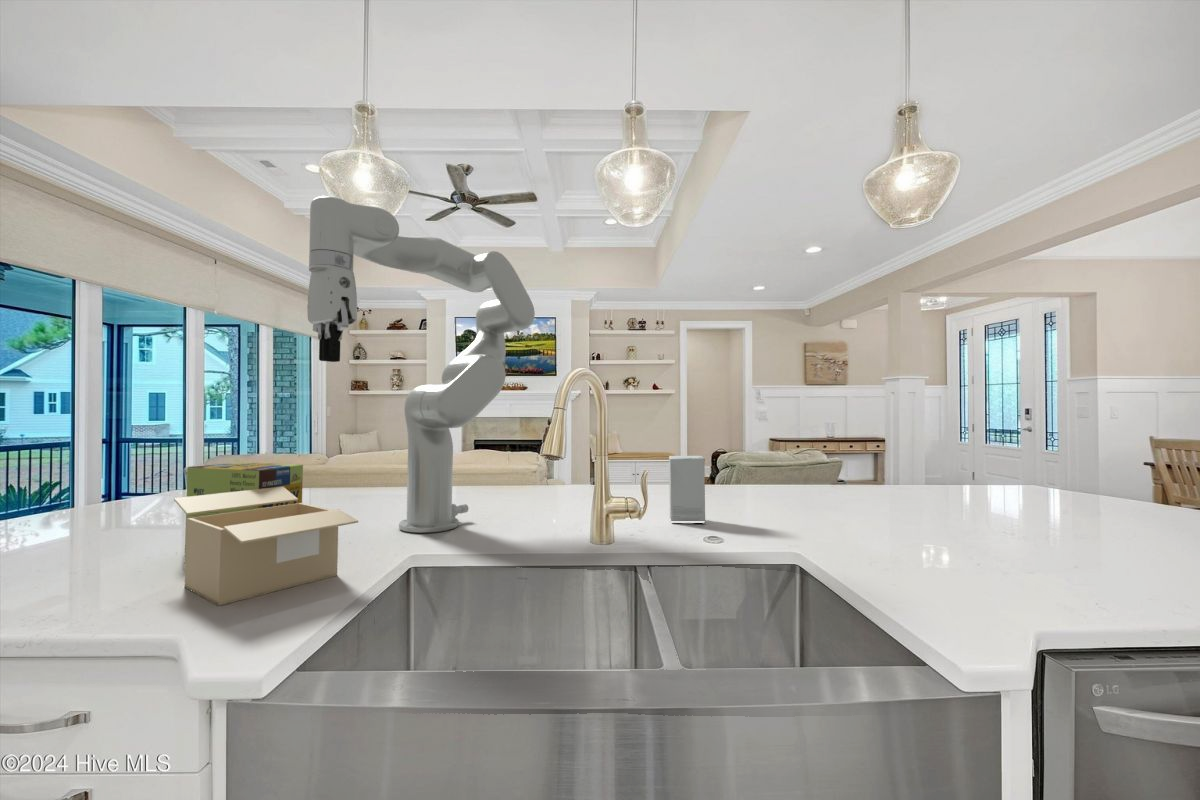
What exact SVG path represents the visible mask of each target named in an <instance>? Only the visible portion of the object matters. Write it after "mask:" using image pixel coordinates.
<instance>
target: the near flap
mask: <svg viewBox="0 0 1200 800" xmlns="http://www.w3.org/2000/svg"><path fill="white" fill-rule="evenodd" d="M358 523H359V520H358V519H356V518H355V517H353V516H351V515H350V514H348V513H347V512H345V511H343V510H341V509H340V508H335V509H330V510H328V511H322V512H315V513H309V514H302V515H296V516H289V517H282V518H276V519H269V520H263V521H256V522H250V523H243V524H237V525H230V526H224V529H225V530H226V531H227V532H228V533H229V534H231V535H232V536H233V537H234V538H235V539H237V540H238V541H239V542H240V543H241V544H242V543H248V542H253V541H259V540H264V539H270V538H275V537H281V536H287V535H292V534H298V533H303V532H309V531H314V530H320V529H325V528H331V527H337V526H338V527H342V526H347V525H353V524H358Z"/></svg>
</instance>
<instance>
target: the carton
mask: <svg viewBox="0 0 1200 800" xmlns="http://www.w3.org/2000/svg"><path fill="white" fill-rule="evenodd" d="M328 510H331V509H329V508H326V507H325V508H324V507H320V506H316V505H311V504H307V503H303V502H302V503H296V504H288V505H281V506H273V507H266V508H258V509H251V510H244V511H236V512H229V513H221V514H214V515H206V516H199V517H192V518H186V517H185V531H186V552H185V551H184V554H185V555H184V557H185V559H184V560H185V561H184V562H185V563H184V588H185V587H186V588H185V589H187V588H188V589H190V590H192V591H194V592H195V593H194V592H193V593H194V594H196V593H197V594H196V595H198V594H199V595H198V596H200V597H201V596H202V597H201V598H203V597H204V599H205V598H206V599H205V600H207V601H209V602H210V603H213V604H215V605H217V606H219V607H220V606H223V605H228V604H231V603H236V602H239V601H242V600H243V601H244V600H246V599H251V598H255V597H259V596H262V595H265V594H270V593H275V592H278V591H281V590H286V589H290V588H294V587H297V586H301V585H306V584H309V583H313V582H317V581H320V580H325V579H328V578H332V577H336V576H338V563H339V562H338V556H339V553H338V551H339V550H338V549H339V526H337V527H331V528H325V529H320V530H314V531H309V532H303V533H298V534H292V535H287V536H281V537H275V538H270V539H264V540H259V541H253V542H248V543H242V544H241V543H240V542H239V541H238V540H237V539H235V538H234V537H233V536H232V535H231V534H229V533H228V532H227V531H226V530H225V529H224V526H230V525H237V524H243V523H250V522H256V521H263V520H269V519H276V518H282V517H289V516H296V515H302V514H309V513H315V512H322V511H328ZM188 589H187V590H188ZM190 590H189V591H190ZM192 591H191V592H192Z"/></svg>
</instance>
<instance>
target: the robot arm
mask: <svg viewBox="0 0 1200 800" xmlns="http://www.w3.org/2000/svg"><path fill="white" fill-rule="evenodd" d="M309 212H310V213H309V251H308V252H309V253H308V254H309V255H308V259H309V260H308V271H309V272H310V278H309V285H308V293H307V294H308V295H307V310H306V311H307V320H308V322H309V323H310V324H311V325H312V331H313V332H315V333H317V339H318V342H319V344H318V345H319V346H318V347H319V349H318V360H319V361H321V362H327V363H328V362H329V363H337V362H340V360H341V341H342V340H343V332H344V331H345V330H347V329H348V328H349V326H350V325H353V324H354V323H356V322H357V320H358V296H357V286H356V285H357V283H356V279H355V277H356V276H355V273H354V255H355V256H357V257H359V258H360V259H364V260H366V261H368V262H371V263H375V264H378V265H380V266H383V267H387V268H391V269H396V270H400V271H401V270H402V271H406V272H409V273H415V274H419V275H426V276H428V277H431V278H434V279H436V280H439V281H442V282H443V283H447V284H450V285H453V286H454V287H457V288H459V289H461V290H464V291H467V292H470V293H483V292H488V291H493V293H494V295H495V296H496V298H494V299H489V300H487V301H485V302H483V303H482V304H481V305H479V307H478V308H477V312H476V314H475V327H476V336H475V339H474V340H473V341H472V342H471V343H470V344H469V345H468V346H467V347H466V348H465V349H464V350H463V351H461V353H459V354H458V355H457V356H455V358H453V359H452V360H451V361H450V362H449V363H448V364H446V366H445V368H444V369H443V371H442V375H441V383H427V384H421V385H418V386H416V387H414V388H413V389H412V390H411V391H410V392H409V393H408V395H407V397H406V398H405V401H404V408H403V409H404V417H405V422H406V431H407V478H406V480H407V481H406V483H407V485H406V486H407V487H406V519H403V520H402V521H400V522H399V523H398V528H399V530H400V531H402V532H405V533H416V534H417V533H421V534H422V533H426V534H428V533H439V532H445V531H449V530H452V529H456V528H457V527H458V526H459V525H460V524H459V522H460V520H459V518H457V517H456V516H458V514H464V513H466V514H467V513H468V512H469V506H468V504H465V503H464V504H460V505H456V504H455V503H453V459H454V458H453V457H454V443H453V438H452V434H451V431H450V429H458V428H462V427H464V426H466V425H468V424H469V423H470V422H471V421H474V419H475V418H477V416H478V415H480V413H481V412H483V410H484V409H485V408H486V407H488V405H489V404H490V403H491V402H492V401H493V400H494V399H495V398H496V397H497V396H498V395H499V393H501V390H502V389H503V387H504V385H505V382H506V369H505V366H504V364H503V362H504V361H505V358H506V354H507V347H506V337H505V333H511V332H520V331H524V330H527V329H528V328H530V326H532V324H533V323H534V321H535V312H536V311H535V307H534V304H533V302H532V299H531V297H530V296H529V294H528V292H527V289H526V288H525V286H524V284H523V282H522V280H521V278H520V276H519V275H518V273H517V271H516V270H515V268H514V266H513V265H512V263H511V262H510V261H509V260H508V258H507V257H506V256H505V255H504V254H503V253H501V252H499V251H495V250H494V251H493V250H492V251H487V252H484V253H479V254H474V253H471V252H469V251H467V250H465V249H463V248H461V247H459V246H456V245H454V244H452V243H450V242H448V241H445V240H443V239H442V238H439V237H432V236H431V237H430V236H418V237H417V236H416V237H415V236H413V237H410V236H399V234H400V224H399V222H398V221H397V218H396V217H395V216H394V215H393V214H392V213H391V212H389V211H388V210H386V209H384V208H381V207H377V206H372V205H370V206H369V205H363V204H357V203H356V204H355V203H350V202H348V201H347V200H344V199H341V198H339V197H334V196H325V195H322V196H318V197H315V198H313V199H312V201H311V203H310V210H309Z"/></svg>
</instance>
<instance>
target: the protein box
mask: <svg viewBox="0 0 1200 800" xmlns="http://www.w3.org/2000/svg"><path fill="white" fill-rule="evenodd" d="M186 472H187V474H186V476H187V478H186V497H190V496H199V495H208V494H218V493H227V492H236V491H246V490H255V489H264V488H274V487H284V488H286V489H287V490H288V491H289V492H290V493H292V494H293V495H294V496H295V497H296V498H298V501H291V502H283V503H275V504H268V505H260V506H252V507H245V508H237V509H229V510H222V511H214V512H207V513H199V514H191V515H187V514H186V513H185V519H186V518H192V517H199V516H206V515H214V514H221V513H229V512H236V511H244V510H251V509H258V508H266V507H273V506H281V505H288V504H296V503H303V478H304V477H303V476H304V473H303V472H304V464H297V463H277V462H276V463H274V462H273V463H272V462H270V463H269V462H239V461H238V462H229V463H227V462H226V463H219V464H218V463H217V464H216V463H215V464H208V465H207V464H206V465H195V466H194V465H193V466H188V467H187V471H186ZM184 533H185V536H184V537H185V539H184V553H185V552H186V530H185V532H184Z"/></svg>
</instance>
